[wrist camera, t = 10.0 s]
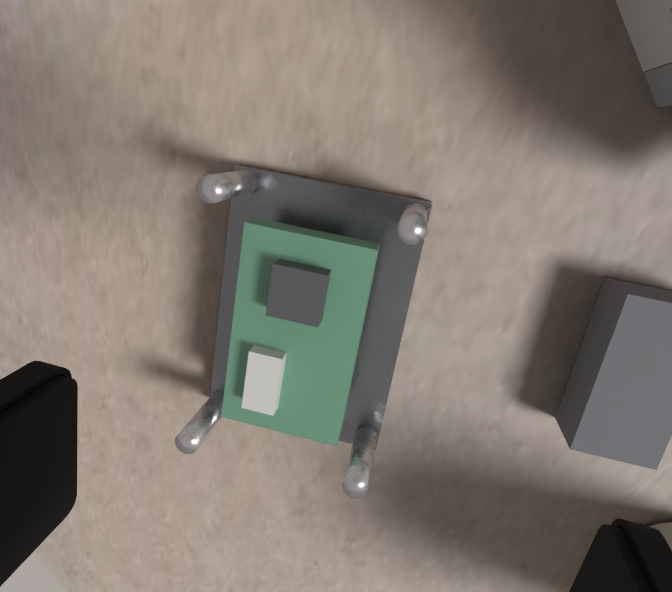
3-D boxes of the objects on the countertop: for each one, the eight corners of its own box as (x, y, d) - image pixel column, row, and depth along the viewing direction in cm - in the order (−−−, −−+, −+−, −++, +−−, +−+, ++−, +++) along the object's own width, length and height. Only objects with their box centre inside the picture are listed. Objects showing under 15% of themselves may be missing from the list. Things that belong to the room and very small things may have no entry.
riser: (604, 277, 25) (627, 294, 22) (690, 294, 24) (725, 314, 21) (555, 417, 27) (570, 449, 24) (632, 435, 27) (656, 469, 24)
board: (255, 217, 24) (236, 225, 21) (380, 243, 23) (374, 254, 21) (232, 402, 27) (213, 427, 24) (341, 429, 26) (333, 458, 24)
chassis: (240, 164, 26) (195, 169, 21) (432, 201, 25) (433, 216, 20) (215, 399, 30) (172, 451, 25) (377, 439, 29) (366, 502, 24)
